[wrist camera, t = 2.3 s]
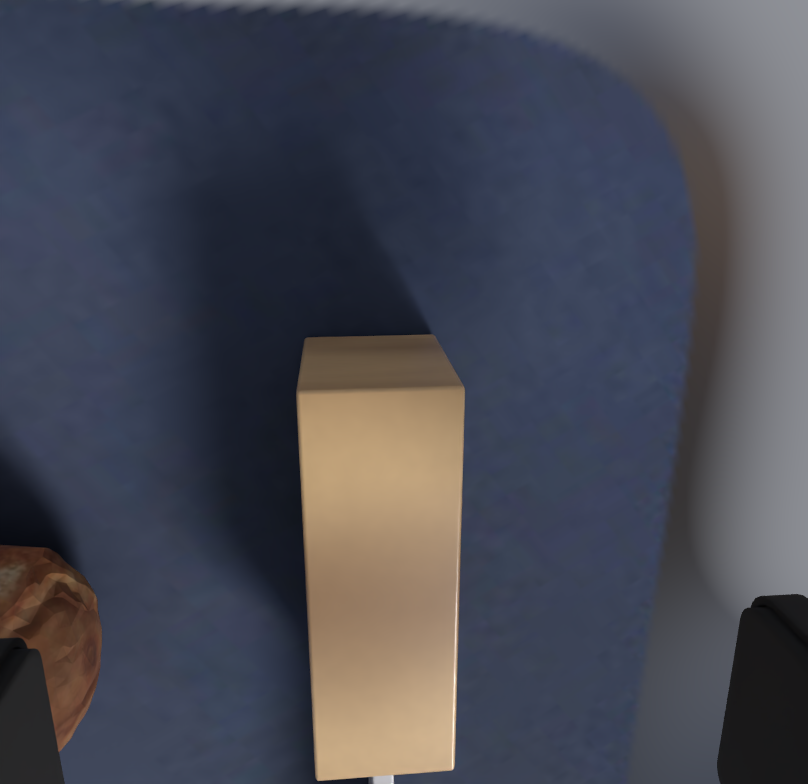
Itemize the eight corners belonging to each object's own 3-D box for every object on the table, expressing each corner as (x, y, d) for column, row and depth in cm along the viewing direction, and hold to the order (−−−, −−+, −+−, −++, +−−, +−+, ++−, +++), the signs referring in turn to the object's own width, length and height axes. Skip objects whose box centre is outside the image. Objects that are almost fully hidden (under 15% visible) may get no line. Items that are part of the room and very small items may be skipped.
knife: (427, 917, 18) (446, 1073, 15) (331, 927, 18) (331, 1087, 15) (435, 333, 13) (465, 386, 10) (304, 336, 13) (295, 391, 10)
